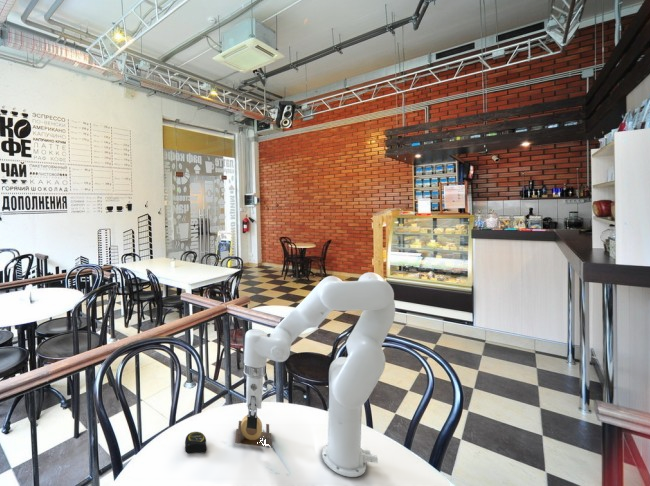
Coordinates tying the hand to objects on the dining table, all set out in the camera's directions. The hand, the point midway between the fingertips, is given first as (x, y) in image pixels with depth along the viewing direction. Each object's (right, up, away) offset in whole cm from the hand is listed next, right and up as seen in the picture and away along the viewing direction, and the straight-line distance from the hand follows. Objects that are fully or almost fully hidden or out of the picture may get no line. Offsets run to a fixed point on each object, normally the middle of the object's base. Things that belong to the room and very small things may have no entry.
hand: (252, 418), depth 111 cm
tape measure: (-19, -7, -5) cm, 21 cm away
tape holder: (0, -8, 0) cm, 7 cm away
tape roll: (0, -6, 0) cm, 6 cm away
